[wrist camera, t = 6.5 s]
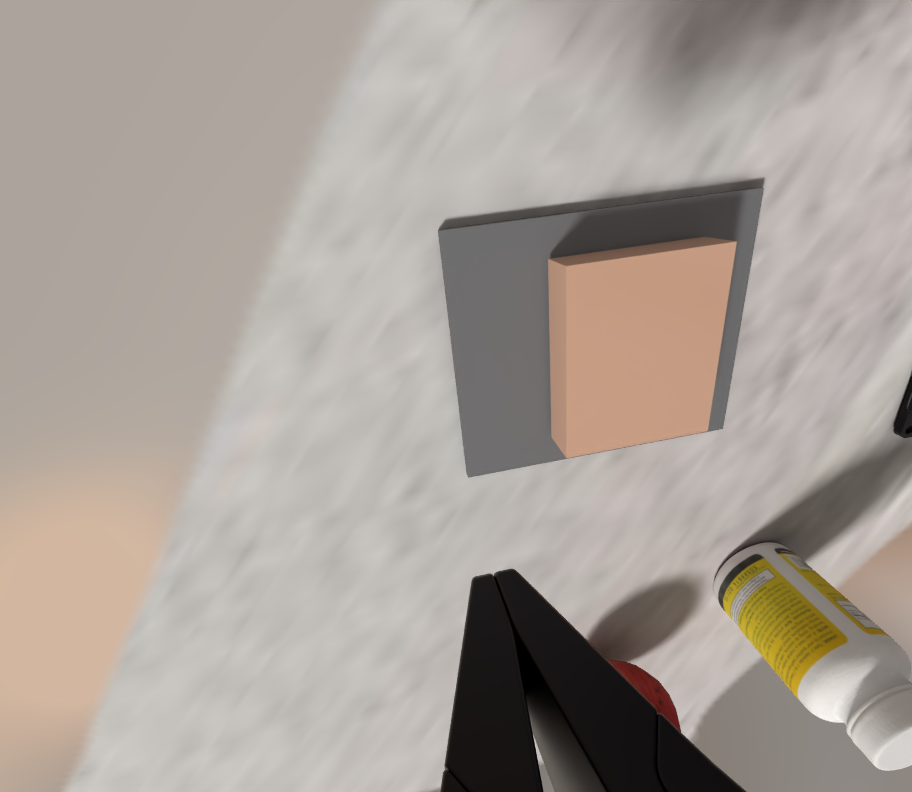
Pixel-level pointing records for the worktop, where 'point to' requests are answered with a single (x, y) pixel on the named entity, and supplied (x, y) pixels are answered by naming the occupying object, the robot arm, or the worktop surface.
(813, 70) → the worktop surface
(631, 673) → the onion
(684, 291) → the block
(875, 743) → the supplement bottle
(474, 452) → the slate mat
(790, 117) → the worktop surface
